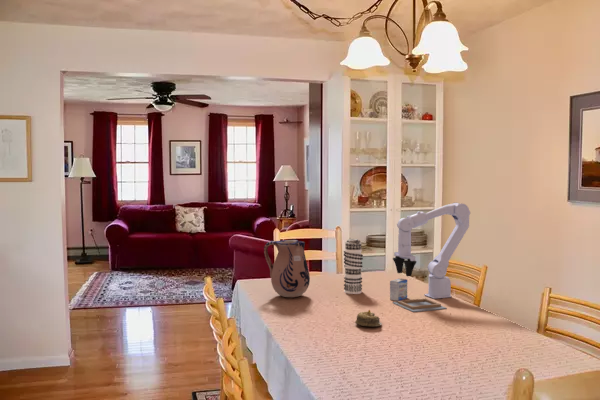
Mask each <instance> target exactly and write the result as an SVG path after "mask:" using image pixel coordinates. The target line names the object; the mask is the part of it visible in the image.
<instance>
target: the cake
mask: <svg viewBox="0 0 600 400" xmlns="http://www.w3.org/2000/svg"><path fill="white" fill-rule="evenodd" d="M354 323H355V324H356V325H359V326H363V327H379V326H381V325H383V323H382V322H381V321H380V317H379V316H377V315H376V314H375V312H372V311H371V310H370V309H368V311H360V312H358V313H357V316H356V320H355V321H354Z"/></svg>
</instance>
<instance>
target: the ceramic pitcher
mask: <svg viewBox="0 0 600 400" xmlns="http://www.w3.org/2000/svg"><path fill="white" fill-rule="evenodd" d="M271 245H272V246H274V247H276V249H277V251H278V252H277V254H276V257H275V260H274V262H272V260H271V258H270V256H269V253H268V252H269V250H268V248H269V247H270V246H271ZM305 245H306V242H305V241H302V240H298V239H287V240H286V239H284V240H271V241H268V242H267V243H266V244H265V245H264V247H263V254H264V257H265V260H266V263H267V266H268V268H269V276H270V279H271V281H270V282H271V286H272V288H273V290H274V291H275V293H277V295H279V296H281V297H284V298H298V297H301V296H302V295H303V294H304V293H306V292H307V290H308V288H309V286H310V282H311V281H310V279H311V277H310V270H309V266H308V263H307V258H306V254H305V253H306V252H305Z"/></svg>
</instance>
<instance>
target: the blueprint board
mask: <svg viewBox="0 0 600 400" xmlns="http://www.w3.org/2000/svg"><path fill="white" fill-rule="evenodd" d="M392 304H393V305H396V306H398V307H401V308H403V309H405V310H407V311H410V312H412V313H419V312H420V313H421V312H429V311H439V310H447V308H448V307H446V306H443V305H442V304H441V303H439V302H437V301H433V300H432V299H428V298H415V299H403V300H400V301H392Z"/></svg>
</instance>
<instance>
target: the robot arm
mask: <svg viewBox="0 0 600 400" xmlns="http://www.w3.org/2000/svg"><path fill="white" fill-rule="evenodd" d="M444 215H449V216H451V217H452V218H453V220H454V222H455V226H454V228H453V230H452V232H450V234H449V237H448V238H447V239H446V242H445V243H444V245H443V247H442V248H441V250H440V252H439V253H438V255H436V256H435V257H434V258H433V260H432V261H430V262H429V263H428V265H427V271H428V273H429V274H428V291H427V292H428V293H425V294H424V296H426V297H428V298H431V299H434V300H435V299H436V300H437V299H446V298H452V295H451V291H452V288H451V287H452V286H451V285H452V282H451V279H450V277H449V276H446V275H447V272H448V271H447V269H448V267H449V265H450V260H451V258H452V256H453V254H454V253H455V251H456V249H457V248H458V246H459V245H460V243H461V241H462V240H463V238H464V237H465V235H466V232H467V231H468V230H469V228H470V215H471V211H470V208H469V206H468V205H467V204H465V203H463V202H462V203H460V202H453V203H449V204H448V203H447V204H444V205H442V206H440V207H437V208H434V209H433V210H430V211H428V212H424V211H417V212H416V213H414V214H410V215H406V217H402V218H400V219H399V220H398V221H397V223H396V226H397V229H398V235H397V236H398V237H397V238H398V240H397V245H398V246H397V251H395V252H393V253H394V254H393V256H394V257H392V260H393V263H394V264H395V268H396V272H397V274H402V273H403V269H404V266H405V275H406V277H412V273H413V270H414V267H415V266H416V264H417V261H416V256H414V255H413V254H412V229H415V228H418V227H420V226H423V225H427V223H428V221H429V220H433V219H435V218H438V217H441V216H444Z"/></svg>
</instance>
